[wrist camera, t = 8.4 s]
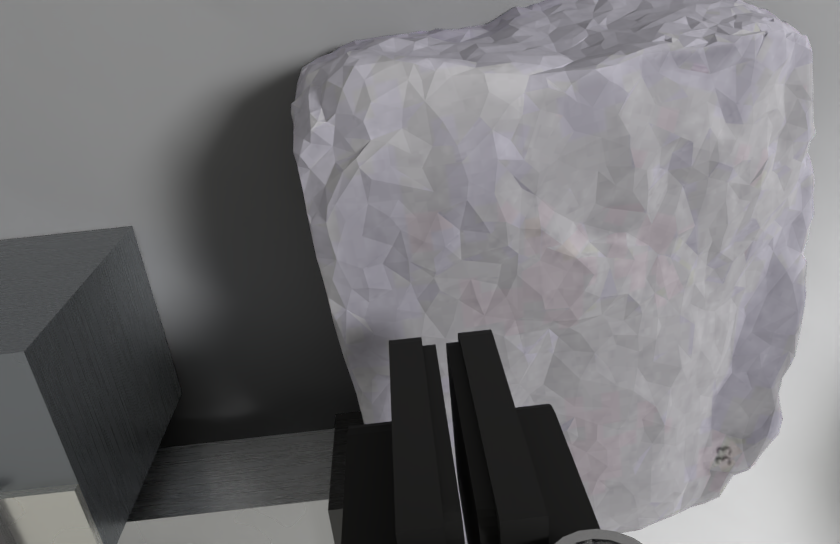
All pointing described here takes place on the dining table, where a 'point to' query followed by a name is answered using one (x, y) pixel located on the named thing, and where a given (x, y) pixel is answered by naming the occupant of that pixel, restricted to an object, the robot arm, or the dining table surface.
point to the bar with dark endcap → (246, 491)
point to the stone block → (578, 224)
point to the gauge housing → (78, 385)
